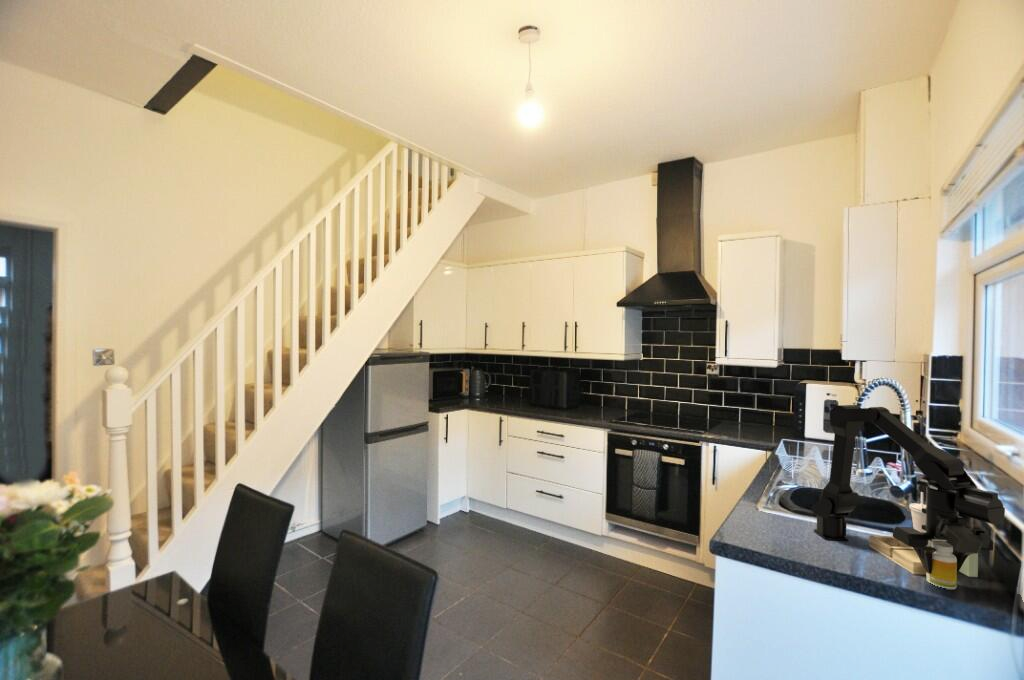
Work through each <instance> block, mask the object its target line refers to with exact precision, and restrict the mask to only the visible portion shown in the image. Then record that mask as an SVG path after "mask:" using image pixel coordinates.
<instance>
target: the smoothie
mask: <svg viewBox="0 0 1024 680" xmlns="http://www.w3.org/2000/svg"><path fill="white" fill-rule="evenodd" d="M922 508H926V504H924V492H922V491H920V503H915V502H914V503H912V502H911V503H910V504H909V509H910V511H911V512H910V514H911V520H912V525H913V527H912V528H913V529H915V530H917V531H919V532H923V533H924V530H923V529H922V525H926V514H925V513H923V512H922Z"/></svg>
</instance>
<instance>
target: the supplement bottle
mask: <svg viewBox="0 0 1024 680" xmlns="http://www.w3.org/2000/svg"><path fill="white" fill-rule="evenodd" d="M932 547H933V548H935V549H937V550H936V551H935V552H934V553H933V554H932V572H931V574H929V573H927V572H926V575H925V579H926V581H927V582H928V583H929V584H930V583H931V585H932V584H933V585H932V586H934V585H935V587H937V586H938V587H937V588H940V587H942V588H941V589H943V588H946V589H945V590H956V589H957V587H958V579H957V577H958V576H957V575H958V574H957V558H956V557H955V555H953V554H952V553H953V546H952V545H951V544H949V543H946V542H933V541H932Z"/></svg>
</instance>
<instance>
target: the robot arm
mask: <svg viewBox="0 0 1024 680" xmlns="http://www.w3.org/2000/svg"><path fill="white" fill-rule="evenodd" d="M865 422H871V423H872V424H874V425H875V426H876V428H879V430H881V431H882V432H883V433H884V434H886V435H887V436H888V437H889V438H890V439H891V440H893V441H894V442H895V443H896V444H898V446H899V447H900V448H902V449H903V450H904V451H905V452H906V453H908V455H910V456H911V458H912V460H913V462H914V465H915V466H916V467H917V469H919V471H920V472H921V473H922V474H923V475H924V476H923V477H922V478H921V479H918V480H917V481H916V482H915V484H916V485H918V486H921V487H925V488H926V490H925V491H926V492H925V493H926V495H925V499H926V500H925V505H926V508H922V512H923V513H925V514H926V525H922V529H923V530H925V531H926V533H923V532H919V531H917V530H915V529H914V528H913V527H911V526H895V527H894V528H893V529H892V536H893V537H894V538H896V539H897V540H899V541H901V542H903V543H904V544H906V545H908V546H911V547H913V548H914V550H915V551H916V553H917V555H918V557H919V559H920V561H921V563H922V565H923V567H924V569H925V571H926V572H927V573H929V574H931V572H932V554H933V553H934V552H935V551H936V550H937V549H935V548H933V547H932V541H933V542H947V543H949V544H951V545H952V546H953V553H952V554H953V555H955V557H956V558H957V575H958V573H959V572H960V571H959V570H960V568H961V567H962V565H963V563H964V561H965V560H966V558H967V557H968V556H969V555H971V554H973V553H978V554H979V553H980V551H994V546H995V545H994V541H993V540H992V538H991V537H990V533H989V532H988V531H986V530H985V529H979V528H977V529H973V528H969V527H967V526H966V524H965V520H964V517H963V516H965V517H967V518H971V519H975V520H978V521H981V522H985V523H987V524H991V525H995V526H996V525H999V524H1001V523H1002V521H1003V519H1004V518H1005V513H1006V508H1005V507H1004V504H1003V502H1002V500H1001V499H1000V498H999V493H998V492H995V491H990V490H983V489H980V488H978V486H977V484H976V483H975V482H974V481H973V479H972V478H971V477H970V475H969V474H968V473H967V471H966V470H965V465H964V463H963V462H962V461H961V460H960V459H959V458H958V457H956V456H954V455H953V454H951V453H949V452H948V451H945V450H944V449H941V448H939V447H937V446H934V445H932V444H930V443H929V442H927V441H926V440H925V439H924V438H923V437H921V436H920V435H919V434H917V433H916V432H915V431H913V430H912V429H911V428H910V427H909V426H907V425H906V424H905V423H904V422H902V421H901V420H900V419H898V418H897V416H895V415H894V414H893V413H891V411H890V410H889V409H888V408H886V407H884V406H869V407H867V408H866V407H863V408H862V407H861V406H859V405H857V404H843V405H841V404H840V405H839V404H838V405H834V406H833V407H831V408H830V410H829V425H830V427H831V430H832V432H833V433H834V436H833V437H834V438H833V447H832V456H831V464H830V471H829V473H830V474H829V481H828V482H827V483H826V485H825V486H824V488H823V489H822V491H821V494H820V497H819V498H820V499H819V500H818V501H817V502H815V503H814V504H812V505H811V510H812V514H813V515H815V516H816V529H815V528H814V529H813V532H814V533H815V534H817V535H818V536H820V537H821V538H823V539H824V540H827V541H828V540H829V541H849V537H847V522H846V517H850V514H851V512H853V511H854V510H855V508H856V507H858V501H857V500H858V498H859V497H858V496H859V493H858V492H855V491H853V489H852V486H851V477H852V469H853V460H854V452H855V443H856V438H857V436H858V435H859V434H860V432H861V430H863V428H864V424H865ZM955 480H956V481H955ZM959 514H961V515H962V516H960V515H959Z"/></svg>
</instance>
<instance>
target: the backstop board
mask: <svg viewBox="0 0 1024 680" xmlns="http://www.w3.org/2000/svg"><path fill="white" fill-rule="evenodd" d="M924 533H926V531H925V530H924ZM946 543H947V542H946ZM978 561H979V553H973V554H971V555H969V556H968V557H967V558H966V560H965V561H964V563H963V565H962V567H961V568H960V570H959V572H960V573H962V574H964V575H965V576H967V577H969V578H978V576H979V575H978V573H979V572H978V571H979V562H978Z"/></svg>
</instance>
